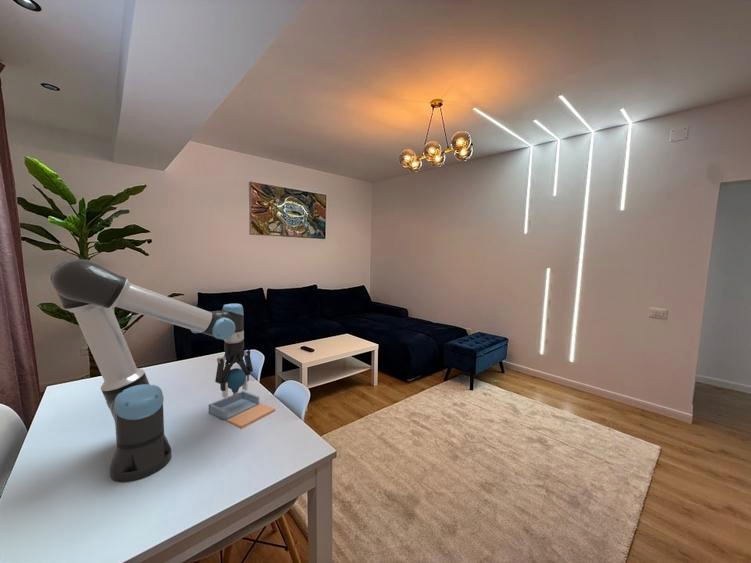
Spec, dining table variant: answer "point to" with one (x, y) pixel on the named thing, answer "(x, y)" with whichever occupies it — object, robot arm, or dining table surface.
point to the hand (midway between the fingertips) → (235, 393)
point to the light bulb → (235, 380)
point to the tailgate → (250, 415)
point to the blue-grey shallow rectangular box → (233, 405)
